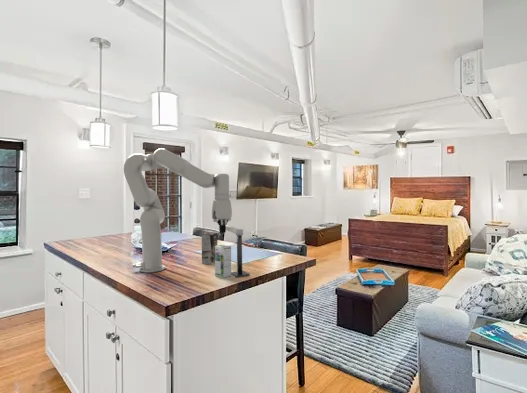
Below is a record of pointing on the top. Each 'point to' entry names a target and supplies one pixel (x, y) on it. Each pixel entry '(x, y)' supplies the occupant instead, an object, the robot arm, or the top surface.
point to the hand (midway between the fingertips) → (222, 232)
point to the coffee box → (208, 248)
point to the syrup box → (222, 261)
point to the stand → (239, 260)
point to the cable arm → (234, 230)
